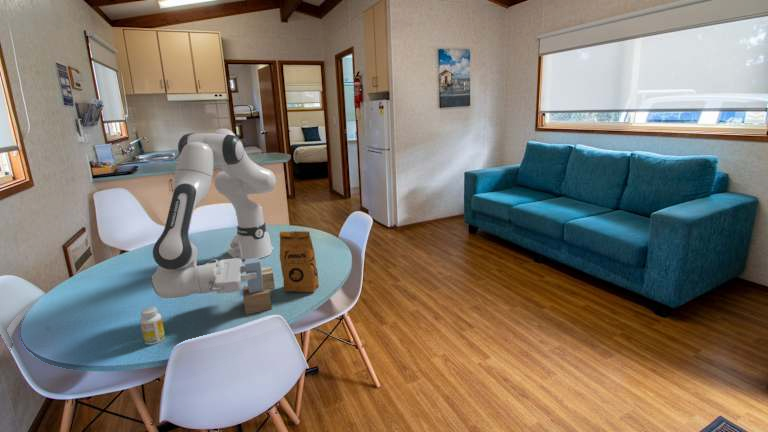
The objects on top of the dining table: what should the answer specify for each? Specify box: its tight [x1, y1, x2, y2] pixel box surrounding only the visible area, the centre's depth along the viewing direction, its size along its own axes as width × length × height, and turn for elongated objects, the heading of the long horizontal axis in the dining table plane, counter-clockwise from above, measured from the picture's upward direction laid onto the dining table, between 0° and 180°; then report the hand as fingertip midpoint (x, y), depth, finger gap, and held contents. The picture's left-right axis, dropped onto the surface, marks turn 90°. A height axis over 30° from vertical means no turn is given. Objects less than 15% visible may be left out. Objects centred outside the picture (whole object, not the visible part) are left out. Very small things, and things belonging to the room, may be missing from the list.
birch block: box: [261, 266, 276, 290], centre depth 147 cm, size 6×6×6 cm
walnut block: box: [242, 283, 273, 315], centre depth 132 cm, size 8×8×6 cm
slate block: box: [244, 258, 264, 293], centre depth 130 cm, size 4×4×10 cm
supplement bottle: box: [139, 306, 166, 346], centre depth 114 cm, size 5×5×10 cm
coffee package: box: [279, 230, 320, 293], centre depth 141 cm, size 10×12×22 cm
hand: (256, 270), depth 130 cm, fingers open, 5 cm apart
